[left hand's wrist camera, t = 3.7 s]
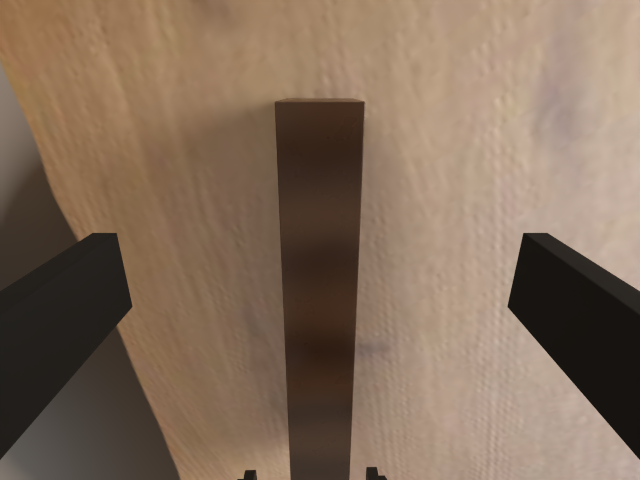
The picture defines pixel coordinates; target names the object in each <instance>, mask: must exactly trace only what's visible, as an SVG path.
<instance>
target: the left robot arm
mask: <svg viewBox="0 0 640 480" xmlns="http://www.w3.org/2000/svg"><path fill="white" fill-rule="evenodd" d="M131 308H132V302H131V298H130V293H129V288H128V284H127V279H126V275H125V270H124V265H123V261H122V256H121V251H120V247H119V242H118V238H117V233H92V234H90V235H89V236H87V237H86V238H84V239H83V240H81V241H79V242H78V243H76V244H75V245H73V246H72V247H70V248H68V249H67V250H65V251H64V252H62V253H60V254H59V255H57V256H56V257H54V258H52V259H51V260H49V261H48V262H46V263H44V264H43V265H41V266H40V267H38V268H37V269H35V270H33V271H32V272H30V273H29V274H27V275H25V276H24V277H22V278H21V279H19V280H18V281H16V282H14V283H13V284H11V285H10V286H8V287H6V288H5V289H3V290H2V291H0V459H1V458H2V457H3V456H4V455H5V454H6V452H7V451H8V450H9V449H10V448H11V447H12V445H13V444H14V443H15V442H16V441H17V440H18V439H19V437H20V436H21V435H22V434H23V433H24V432H25V430H26V429H27V428H28V427H29V426H30V425H31V424H32V422H33V421H34V420H35V419H36V418H37V417H38V415H39V414H40V413H41V412H42V411H43V410H44V408H45V407H46V406H47V405H48V404H49V403H50V401H51V400H52V399H53V398H54V397H55V396H56V395H57V393H58V392H59V391H60V390H61V389H62V388H63V386H64V385H65V384H66V383H67V382H68V381H69V380H70V378H71V377H72V376H73V375H74V374H75V373H76V371H77V370H78V369H79V368H80V367H81V366H82V365H83V363H84V362H85V361H86V360H87V359H88V358H89V356H90V355H91V354H92V353H93V352H94V351H95V349H96V348H97V347H98V346H99V345H100V344H101V343H102V341H103V340H104V339H105V338H106V337H107V336H108V334H109V333H110V332H111V331H112V330H113V329H114V327H115V326H116V325H117V324H118V323H119V322H120V321H121V319H122V318H123V317H124V316H125V315H126V314H127V312H128V311H129V310H130V309H131ZM508 308H509V309H510V310H511V311H512V312H513V314H514V315H515V316H516V317H517V318H518V319H519V321H520V322H521V323H522V324H523V325H524V326H525V327H526V329H527V330H528V331H529V332H530V333H531V334H532V336H533V337H534V338H535V339H536V340H537V341H538V343H539V344H540V345H541V346H542V347H543V348H544V349H545V351H546V352H547V353H548V354H549V355H550V356H551V358H552V359H553V360H554V361H555V362H556V363H557V365H558V366H559V367H560V368H561V369H562V370H563V371H564V373H565V374H566V375H567V376H568V377H569V378H570V380H571V381H572V382H573V383H574V384H575V385H576V386H577V388H578V389H579V390H580V391H581V392H582V393H583V395H584V396H585V397H586V398H587V399H588V400H589V402H590V403H591V404H592V405H593V406H594V407H595V408H596V410H597V411H598V412H599V413H600V414H601V415H602V417H603V418H604V419H605V420H606V421H607V422H608V424H609V425H610V426H611V427H612V428H613V429H614V430H615V432H616V433H617V434H618V435H619V436H620V437H621V439H622V440H623V441H624V442H625V443H626V444H627V445H628V447H629V448H630V449H631V450H632V451H633V452H634V454H635V455H636V456H637V457H638V458H639V459H640V291H638V290H637V289H635V288H634V287H632V286H630V285H629V284H627V283H626V282H624V281H622V280H621V279H619V278H618V277H616V276H615V275H613V274H611V273H610V272H608V271H607V270H605V269H603V268H602V267H600V266H599V265H597V264H596V263H594V262H592V261H591V260H589V259H588V258H586V257H584V256H583V255H581V254H580V253H578V252H577V251H575V250H573V249H572V248H570V247H569V246H567V245H565V244H564V243H562V242H561V241H559V240H557V239H556V238H554V237H553V236H551V235H550V234H548V233H523V238H522V242H521V247H520V251H519V256H518V261H517V265H516V270H515V275H514V279H513V284H512V288H511V293H510V298H509V302H508Z"/></svg>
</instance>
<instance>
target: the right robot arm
mask: <svg viewBox="0 0 640 480" xmlns="http://www.w3.org/2000/svg"><path fill="white" fill-rule="evenodd" d="M237 480H257V476H256V470H246V471H245V474H244V479H237ZM366 480H387V479H386V477H385V476H378V471H377V467H367V468H366Z"/></svg>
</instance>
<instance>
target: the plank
mask: <svg viewBox="0 0 640 480" xmlns="http://www.w3.org/2000/svg"><path fill="white" fill-rule="evenodd" d="M275 118H276V142H277V165H278V189H279V213H280V237H281V260H282V284H283V308H284V331H285V355H286V379H287V403H288V426H289V450H290V474H291V480H349V473H350V450H351V426H352V402H353V379H354V355H355V331H356V307H357V284H358V260H359V236H360V213H361V189H362V165H363V141H364V118H365V102H364V101H360V100H356V99H284V100H280V101H276V102H275Z"/></svg>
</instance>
